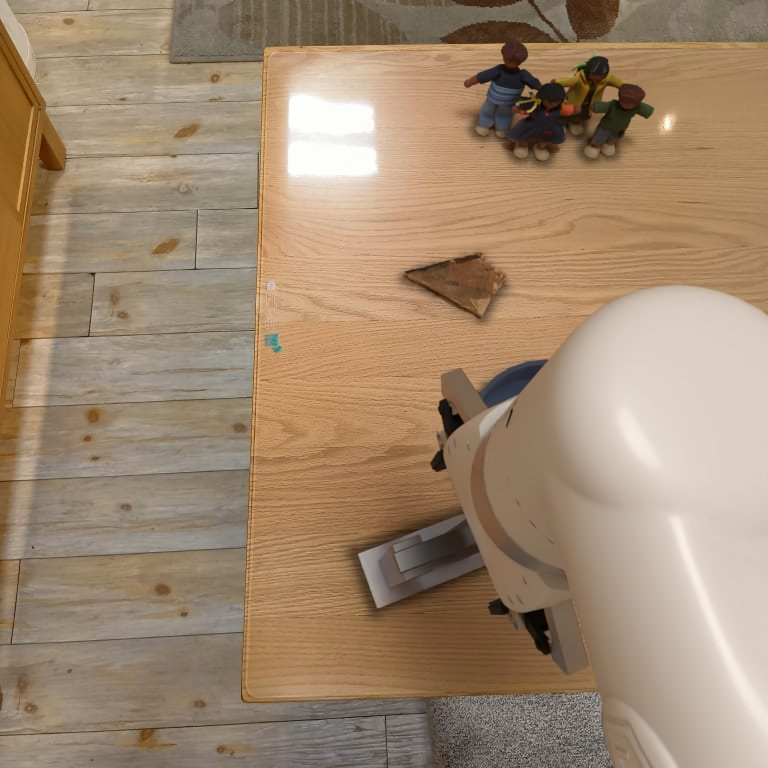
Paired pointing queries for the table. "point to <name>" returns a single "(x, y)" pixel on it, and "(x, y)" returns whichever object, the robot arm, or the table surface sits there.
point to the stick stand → (396, 586)
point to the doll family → (556, 104)
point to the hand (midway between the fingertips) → (480, 528)
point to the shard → (462, 280)
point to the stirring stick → (433, 549)
